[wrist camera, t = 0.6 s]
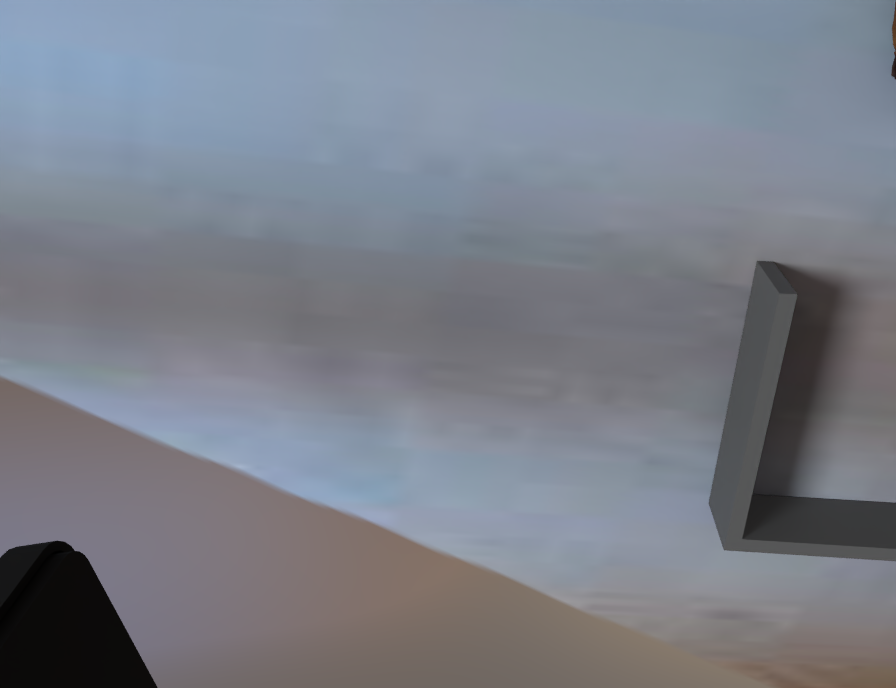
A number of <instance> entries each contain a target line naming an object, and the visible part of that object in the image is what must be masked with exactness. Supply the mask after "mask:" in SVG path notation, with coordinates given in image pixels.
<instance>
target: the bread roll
mask: <svg viewBox="0 0 896 688" xmlns="http://www.w3.org/2000/svg"><path fill="white" fill-rule="evenodd" d="M892 34H893V45H894V48H895V52H894V54H895V59H894V62H893V65H892V74H891V75H892V76H893V77H895V79H896V2H895V14H894V21H893V26H892Z"/></svg>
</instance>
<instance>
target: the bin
mask: <svg viewBox="0 0 896 688" xmlns="http://www.w3.org/2000/svg"><path fill="white" fill-rule="evenodd" d="M797 295H798V294H797V293H796V291H795V290H794V289H793V287H792V286H791V285H790V283H789V282H788V281H787V279H786V278H785V277H784V275H783V274H782V273H781V271H780V270H779V269H778V267H777V266H776V265H775V263H774V262H764V261H757V264H756V269H755V274H754V279H753V284H752V289H751V294H750V299H749V304H748V309H747V314H746V319H745V324H744V329H743V334H742V339H741V344H740V349H739V354H738V359H737V364H736V369H735V374H734V379H733V384H732V389H731V394H730V399H729V404H728V409H727V414H726V419H725V424H724V429H723V434H722V439H721V444H720V449H719V454H718V459H717V464H716V469H715V474H714V479H713V484H712V489H711V494H710V499H709V506H710V509H711V512H712V515H713V518H714V521H715V524H716V527H717V530H718V533H719V536H720V540H721V543H722V546H723V549H724V550H729V551H745V552H761V553H776V554H792V555H807V556H823V557H838V558H854V559H869V560H885V561H896V503H885V502H868V501H851V500H835V499H818V498H802V497H785V496H769V495H752V493H753V489H754V484H755V480H756V475H757V471H758V467H759V462H760V458H761V453H762V449H763V445H764V440H765V436H766V431H767V427H768V423H769V418H770V414H771V409H772V405H773V401H774V396H775V392H776V387H777V383H778V379H779V374H780V370H781V365H782V361H783V357H784V352H785V348H786V343H787V339H788V335H789V330H790V326H791V321H792V317H793V313H794V308H795V304H796V299H797Z"/></svg>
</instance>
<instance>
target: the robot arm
mask: <svg viewBox="0 0 896 688" xmlns="http://www.w3.org/2000/svg"><path fill="white" fill-rule="evenodd" d="M0 688H157V686H156V684H155V682H154V681H153V678H152V677H151V675H150V673H149V671H148V669H147V668H146V666H145V664H144V662H143V660H142V658H141V656H140V655H139V653H138V651H137V649H136V647H135V645H134V643H133V642H132V640H131V638H130V636H129V634H128V632H127V630H126V629H125V627H124V625H123V623H122V621H121V619H120V618H119V616H118V614H117V612H116V610H115V608H114V607H113V605H112V603H111V601H110V599H109V597H108V596H107V594H106V592H105V590H104V588H103V586H102V584H101V583H100V581H99V579H98V577H97V575H96V573H95V571H94V570H93V568H92V566H91V564H90V562H89V561H88V559H87V558H86V556H85V555H84V554H82V553H81V552H78V551H74V549H73V548H72V547H71V546H70V545H69V544H67V543H66V542H62V541H53V542H46V543H39V544H33V545H26V546H19V547H15V548H12V549H9V550H8V551H7V552H6V553H5V554H4V555H2V556H1V558H0Z"/></svg>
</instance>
